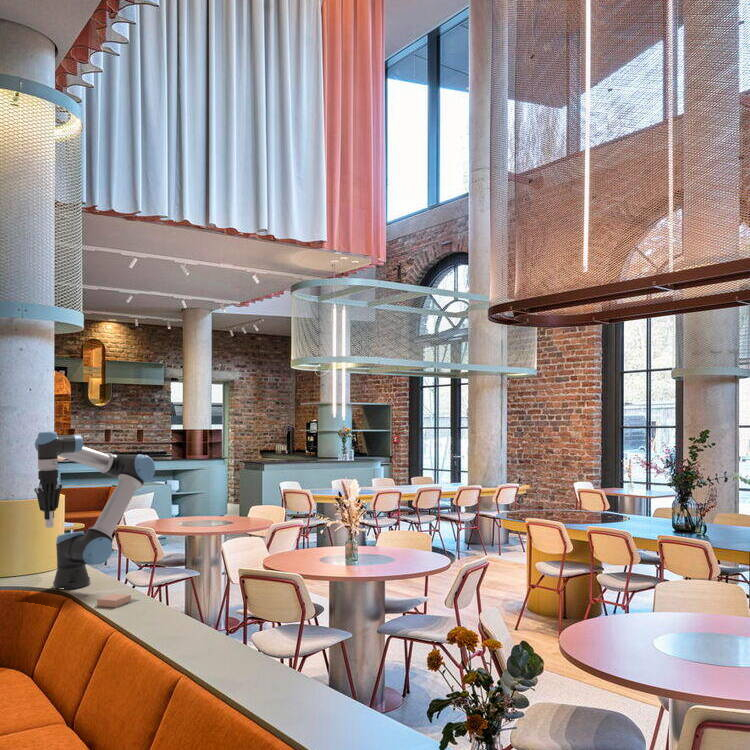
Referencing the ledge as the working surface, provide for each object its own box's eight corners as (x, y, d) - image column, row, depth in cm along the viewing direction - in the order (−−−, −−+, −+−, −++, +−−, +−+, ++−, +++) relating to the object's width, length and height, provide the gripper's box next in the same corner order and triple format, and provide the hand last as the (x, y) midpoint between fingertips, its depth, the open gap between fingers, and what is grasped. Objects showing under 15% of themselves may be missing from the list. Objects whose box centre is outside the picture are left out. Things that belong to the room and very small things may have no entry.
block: (112, 593, 316) (96, 599, 308) (131, 594, 313) (115, 600, 304) (113, 600, 316) (97, 606, 308) (131, 601, 313) (115, 607, 304)
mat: (115, 599, 320) (115, 597, 320) (140, 601, 315) (139, 599, 315) (94, 607, 309) (94, 605, 309) (119, 609, 304) (119, 607, 304)
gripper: (42, 471, 317) (44, 530, 317) (66, 467, 330) (68, 524, 329) (28, 471, 320) (30, 529, 320) (53, 467, 332) (54, 524, 332)
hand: (49, 527), depth 324 cm, fingers closed
